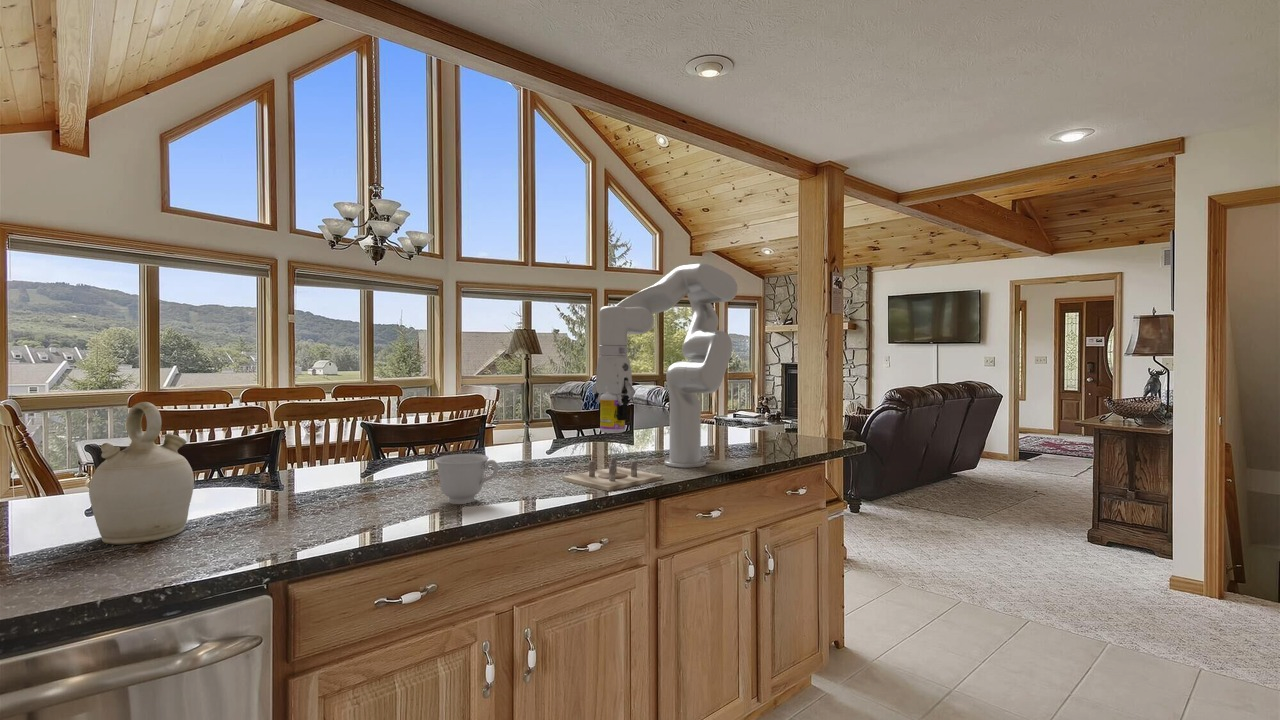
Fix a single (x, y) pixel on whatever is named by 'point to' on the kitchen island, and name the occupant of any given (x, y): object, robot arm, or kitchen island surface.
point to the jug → (142, 484)
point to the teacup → (463, 475)
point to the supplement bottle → (610, 414)
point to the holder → (612, 477)
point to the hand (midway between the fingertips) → (612, 418)
